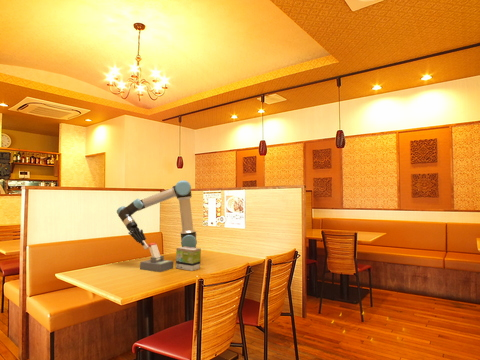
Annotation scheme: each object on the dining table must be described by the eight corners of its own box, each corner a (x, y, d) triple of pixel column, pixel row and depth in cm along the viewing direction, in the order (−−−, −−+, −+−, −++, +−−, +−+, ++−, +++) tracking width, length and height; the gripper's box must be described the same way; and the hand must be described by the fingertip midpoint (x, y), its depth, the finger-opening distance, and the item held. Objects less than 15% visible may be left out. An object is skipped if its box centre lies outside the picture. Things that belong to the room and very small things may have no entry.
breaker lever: (153, 262, 214) (147, 244, 217) (159, 260, 220) (153, 243, 223) (156, 260, 213) (150, 243, 217) (161, 259, 219) (156, 242, 222)
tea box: (175, 268, 218) (175, 247, 219) (184, 266, 227) (184, 246, 227) (192, 271, 211) (192, 249, 212) (200, 268, 220) (201, 247, 220)
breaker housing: (140, 269, 214) (140, 257, 214) (153, 265, 227) (153, 254, 227) (160, 272, 206) (161, 259, 207) (173, 268, 219) (173, 256, 220)
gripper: (134, 226, 236) (150, 250, 228) (121, 228, 224) (137, 253, 216) (139, 220, 234) (155, 243, 226) (126, 221, 222) (143, 246, 214)
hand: (146, 248), depth 221 cm, fingers closed
